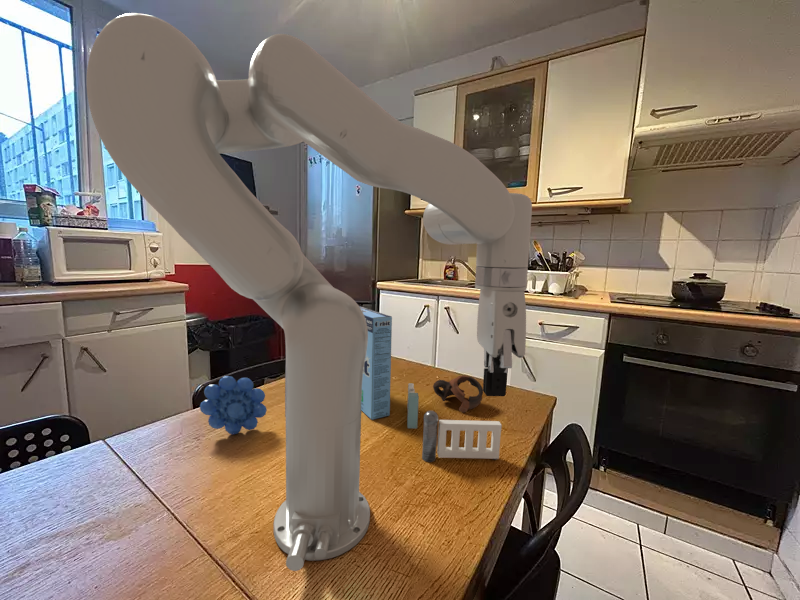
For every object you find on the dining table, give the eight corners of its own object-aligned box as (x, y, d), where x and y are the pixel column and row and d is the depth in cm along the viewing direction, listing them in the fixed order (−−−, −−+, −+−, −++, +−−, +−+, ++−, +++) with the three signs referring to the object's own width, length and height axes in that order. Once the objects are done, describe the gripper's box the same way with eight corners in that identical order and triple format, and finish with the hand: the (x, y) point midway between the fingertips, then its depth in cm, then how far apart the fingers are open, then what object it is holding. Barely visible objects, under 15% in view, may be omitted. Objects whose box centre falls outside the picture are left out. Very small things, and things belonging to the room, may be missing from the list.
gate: (438, 459, 61) (440, 423, 60) (437, 455, 62) (439, 419, 61) (499, 461, 61) (502, 425, 60) (496, 456, 63) (499, 421, 62)
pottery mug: (471, 397, 91) (484, 376, 86) (474, 427, 83) (488, 407, 78) (428, 385, 90) (439, 363, 85) (427, 415, 82) (439, 393, 77)
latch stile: (417, 428, 72) (418, 396, 71) (407, 428, 72) (409, 396, 71) (416, 423, 74) (417, 392, 73) (407, 423, 74) (408, 392, 73)
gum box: (390, 416, 77) (393, 316, 74) (369, 421, 74) (372, 317, 71) (354, 386, 93) (356, 303, 90) (337, 389, 91) (338, 304, 88)
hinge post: (436, 462, 60) (439, 414, 59) (422, 462, 60) (424, 414, 59) (435, 454, 63) (437, 408, 62) (420, 453, 63) (423, 407, 62)
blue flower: (200, 452, 61) (198, 387, 59) (201, 434, 66) (199, 375, 65) (270, 437, 66) (269, 378, 65) (265, 422, 72) (264, 367, 71)
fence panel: (414, 423, 74) (415, 397, 73) (409, 423, 74) (410, 397, 73) (412, 407, 82) (413, 383, 81) (407, 407, 82) (408, 383, 81)
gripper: (547, 284, 45) (537, 416, 47) (508, 276, 59) (502, 377, 62) (490, 283, 44) (483, 416, 47) (465, 275, 59) (461, 376, 62)
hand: (494, 393), depth 54 cm, fingers closed
